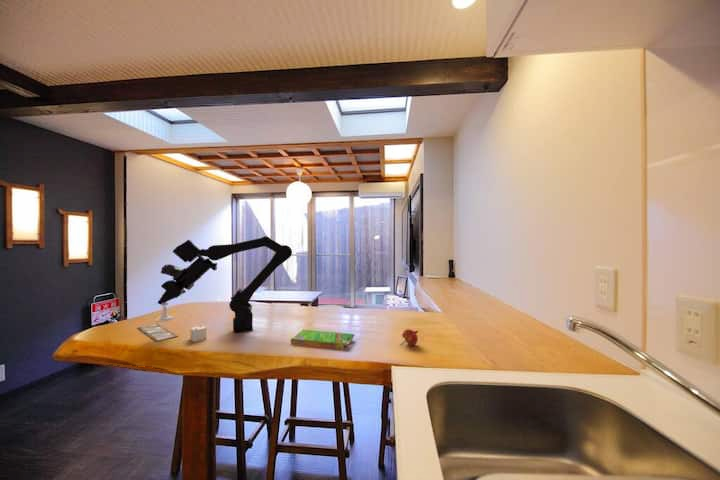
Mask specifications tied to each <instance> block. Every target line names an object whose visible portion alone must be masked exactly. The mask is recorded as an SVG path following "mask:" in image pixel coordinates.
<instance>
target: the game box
mask: <svg viewBox="0 0 720 480" xmlns="http://www.w3.org/2000/svg"><path fill="white" fill-rule="evenodd" d="M354 337H355V334H354V333H347V332H337V331H336V332H335V331H323V330H314V329H313V330H312V329H304V328H303V329H302V330H301V331H299V332H298V333H296V334H295V335H294V336H293V337H291V338H290V345H295V346H296V345H298V346H308V347H315V348H316V347H317V348H325V349H326V348H327V349H335V350H344V348H345V347H346V345H349V344H351V342H352V340H353V339H354Z"/></svg>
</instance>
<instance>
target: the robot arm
mask: <svg viewBox="0 0 720 480" xmlns="http://www.w3.org/2000/svg"><path fill="white" fill-rule="evenodd" d="M263 247H266V248H268V249H270V250H271V251H273V252H274V253H273V255H272V256H271V259H270V261H269V262H268V263H267V264H266V265H265V266H264V268H262V269H261V270H260V272H259V273H258V274H257V275H256V276H255V277H254V278H253V279H252V280H251V281H250V282H249V283H248V284H247V285H246V286H245V288H243V289H241V287H239V288H238V289H237V291H236V292H235V293H234V294H232V295H231V297H230V302H229V304H228V305H229V309H230V310H231V311H232V312H234V317H233V318H232V330H233V331H234V333H242V332H244V333H245V332H251V331H254V327H253V321H254V320H253V315H254V314H253V311H252V309H253V305H252V304H251V303H250V302H249V301H251V299H252V297H253V295H254V294H255V293H256V291H257V290H258V289H259V288H260V287H261V286H262V285H263V284H264V282H265V281H266V280H267V279H268V278H269V277H270V276H271V274H272V273H273V272H274V271H275V270H276V269H277V268H278V267H279V266H280V265H282V264H283V263H285V262H286V261H287V260H288V259H290V258H291V257H292V254H293V251H292V248H291V247H290V246H288V245H285V244H284V245H283V244H280V243H278V242H277V241H275V240H274V239H272V238H271V237H269V236H261V237H260V238H255V239H251V240H246V241H241V242H237V243H229V244H215V245H211V246H209V247H208V248H201V249H200V248H199V247H198V246H196V245H195V244H194V243H193V241H192V240H191V239H187V240H186V241H184V242H182V243H181V244H179V245H178V246H176V247H175V248H174V249H173V250H172V253H173V254H175V256H177V257H178V258H179V259H181V260H182V262H184V263H190V265H188V267H184V268H182V267H179V266H176V265H174V264H170V263H165V264H164V266H162V267H161V271H160V274H163V275H166V276H170V277H172V280H171V279H169V280H167V281H164V282H163V283H162V284H160V286H161V288H163V290H164V292H165V293H164V292H163V295H162V294H161V297H160V298H159V300H158V301H157V304H158V305H161V304H163V303H165V302H166V303H167V302H169V301H171V300H173V299H177V298H178V297H181V296H182V295H183V294H185V293H186V290H188V291H190V290H191V289H192V288H193V287H195V283H196V282H197V281H199V280H200V279H201V277H202V276H204V275H205V274H206V273H207V272H208V271H209V270H210V269H211V270H213V271H214V272H215V271H216V270H217V271H218V263H217V262H213V261H219V260H222V259H224V258H226V257H230V256H232V255H233V254H237V253H240V252H245V251H250V250H254V249H259V248H263ZM205 257H206V258H205Z"/></svg>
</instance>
